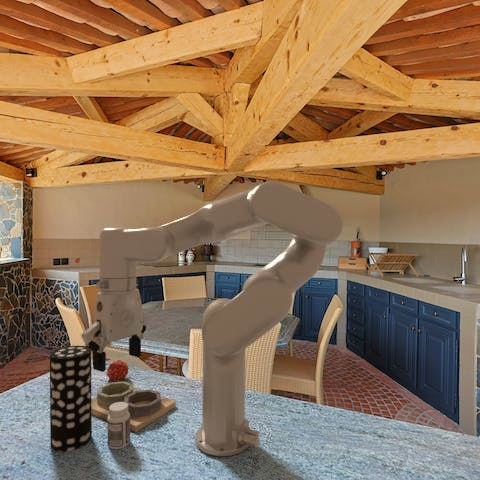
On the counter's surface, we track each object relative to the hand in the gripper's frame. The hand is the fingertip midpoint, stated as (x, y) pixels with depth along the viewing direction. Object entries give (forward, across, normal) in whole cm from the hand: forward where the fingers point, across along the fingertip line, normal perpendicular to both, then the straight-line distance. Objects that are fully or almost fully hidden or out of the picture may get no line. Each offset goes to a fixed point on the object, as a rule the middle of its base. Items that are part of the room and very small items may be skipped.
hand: (118, 362), depth 79 cm
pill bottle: (+18, 0, 0) cm, 18 cm away
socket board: (+18, +12, +10) cm, 24 cm away
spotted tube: (+18, -4, +10) cm, 21 cm away
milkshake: (+18, +25, -7) cm, 32 cm away
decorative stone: (+18, +23, +27) cm, 40 cm away
